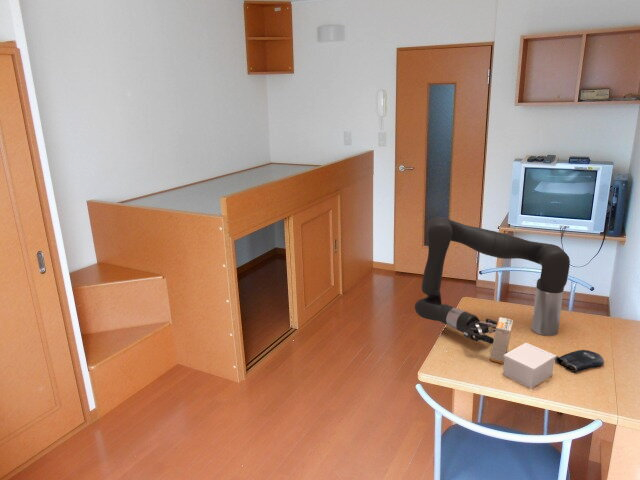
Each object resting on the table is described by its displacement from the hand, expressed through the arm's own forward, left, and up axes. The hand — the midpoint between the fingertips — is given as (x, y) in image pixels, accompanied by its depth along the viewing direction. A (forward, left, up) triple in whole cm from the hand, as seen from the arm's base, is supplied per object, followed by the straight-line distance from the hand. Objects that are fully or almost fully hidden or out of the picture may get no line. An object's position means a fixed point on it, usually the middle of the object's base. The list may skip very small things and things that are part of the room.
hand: (500, 337), depth 169 cm
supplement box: (0, 0, -7) cm, 7 cm away
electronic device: (-18, +19, -8) cm, 27 cm away
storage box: (+2, +12, -7) cm, 15 cm away
